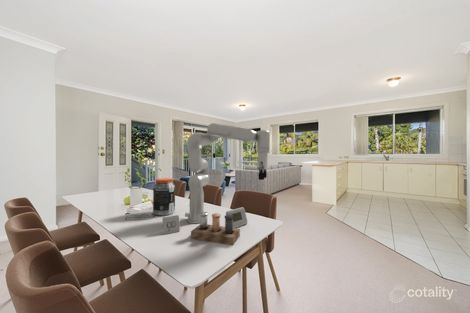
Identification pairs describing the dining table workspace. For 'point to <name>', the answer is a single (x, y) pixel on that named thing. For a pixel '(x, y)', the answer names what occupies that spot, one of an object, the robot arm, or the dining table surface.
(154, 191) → the supplement tub
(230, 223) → the charcoal peg
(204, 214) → the grey peg
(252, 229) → the dining table surface
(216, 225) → the terracotta peg
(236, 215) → the digital clock
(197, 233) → the walnut block
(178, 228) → the electrical switch
